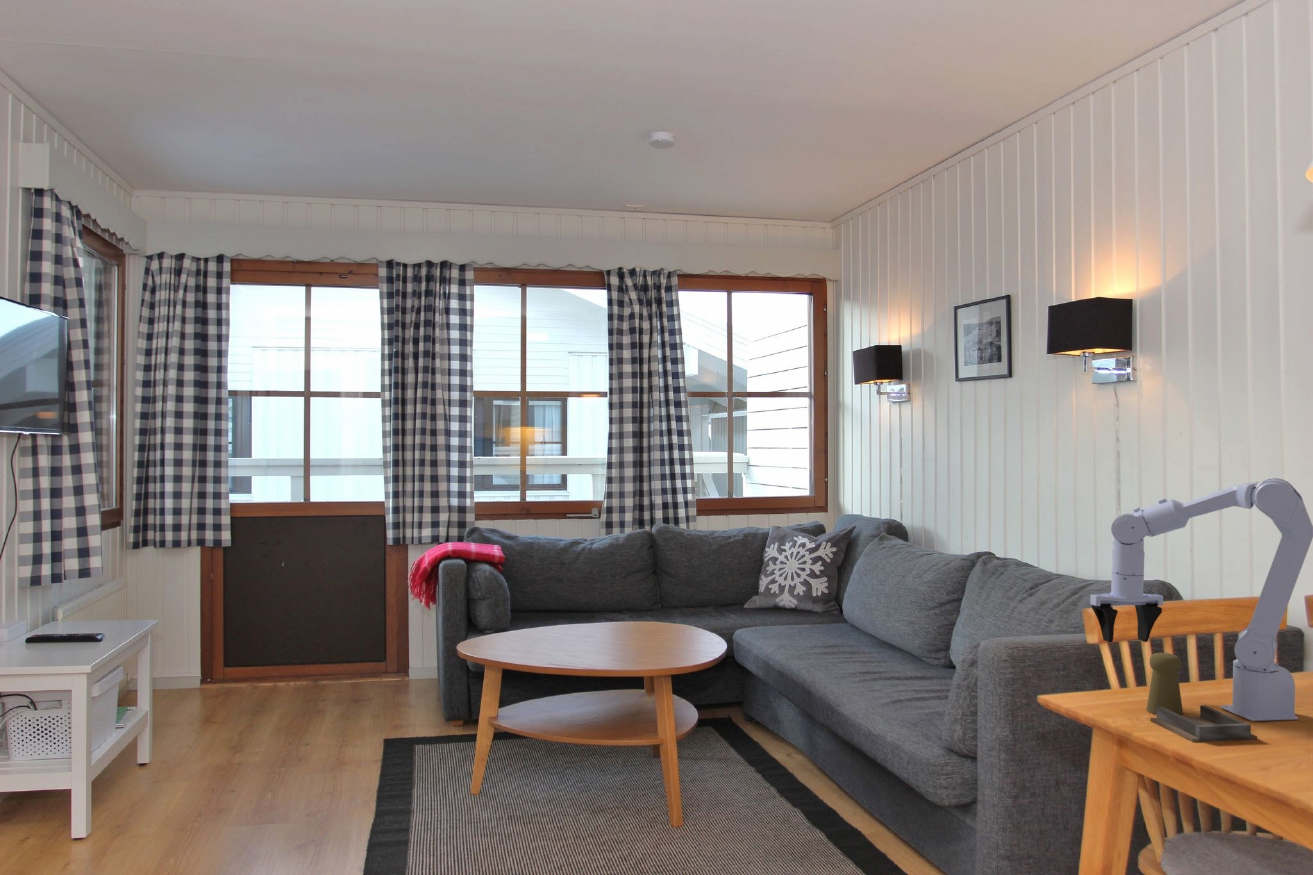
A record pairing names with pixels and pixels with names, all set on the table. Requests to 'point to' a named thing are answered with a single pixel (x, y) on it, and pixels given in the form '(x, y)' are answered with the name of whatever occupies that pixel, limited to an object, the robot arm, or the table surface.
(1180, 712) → the olive rounded tapered post
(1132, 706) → the table surface
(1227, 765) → the table surface
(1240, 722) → the shaker socket
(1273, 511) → the robot arm
